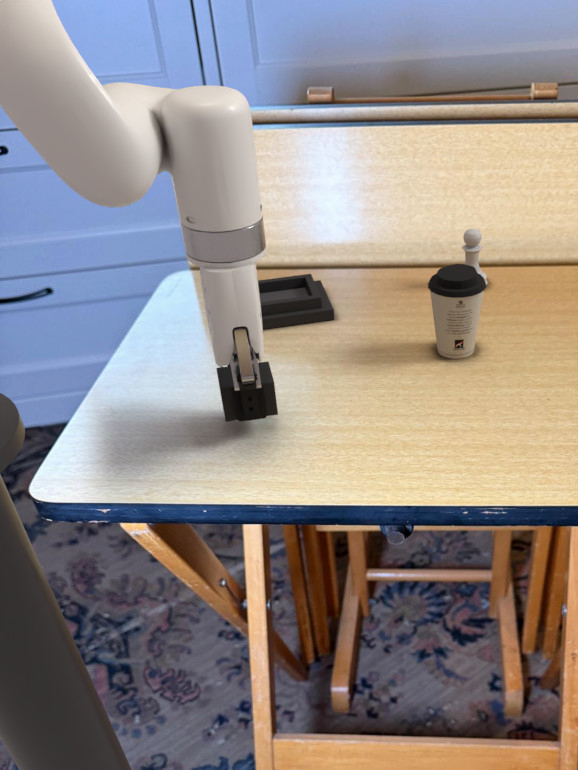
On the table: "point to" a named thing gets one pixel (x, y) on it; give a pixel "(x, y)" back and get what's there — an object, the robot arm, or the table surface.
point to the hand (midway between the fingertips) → (249, 404)
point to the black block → (227, 383)
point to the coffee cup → (456, 308)
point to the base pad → (293, 301)
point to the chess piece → (473, 250)
